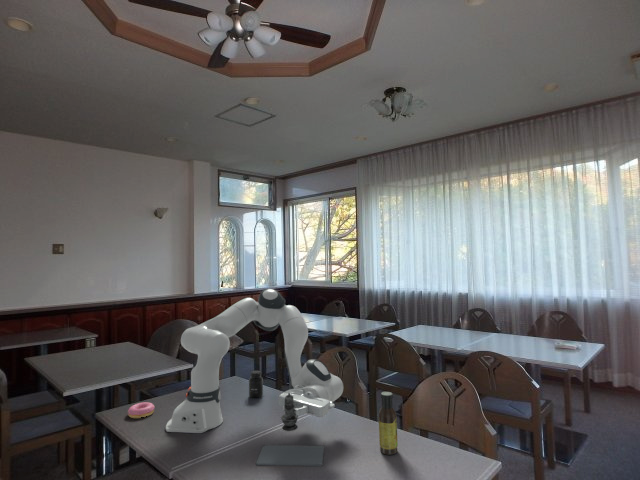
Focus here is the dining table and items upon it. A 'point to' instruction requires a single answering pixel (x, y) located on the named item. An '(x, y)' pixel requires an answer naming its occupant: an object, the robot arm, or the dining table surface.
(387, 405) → the sauce bottle
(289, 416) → the dark carved figurine
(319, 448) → the mat
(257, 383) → the supplement bottle
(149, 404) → the doughnut
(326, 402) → the robot arm
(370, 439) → the dining table surface
